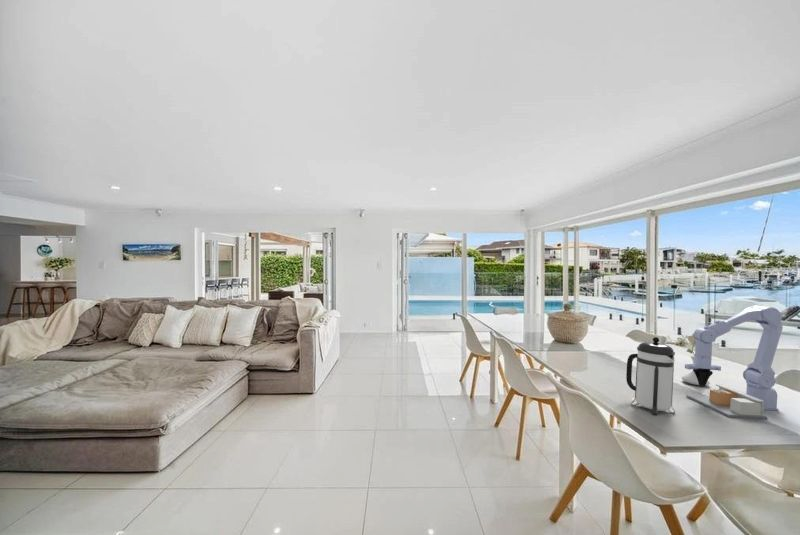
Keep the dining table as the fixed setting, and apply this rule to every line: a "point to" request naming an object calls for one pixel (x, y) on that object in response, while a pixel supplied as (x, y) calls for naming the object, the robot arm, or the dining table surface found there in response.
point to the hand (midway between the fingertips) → (702, 385)
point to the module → (721, 396)
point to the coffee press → (653, 376)
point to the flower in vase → (691, 376)
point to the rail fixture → (735, 405)
